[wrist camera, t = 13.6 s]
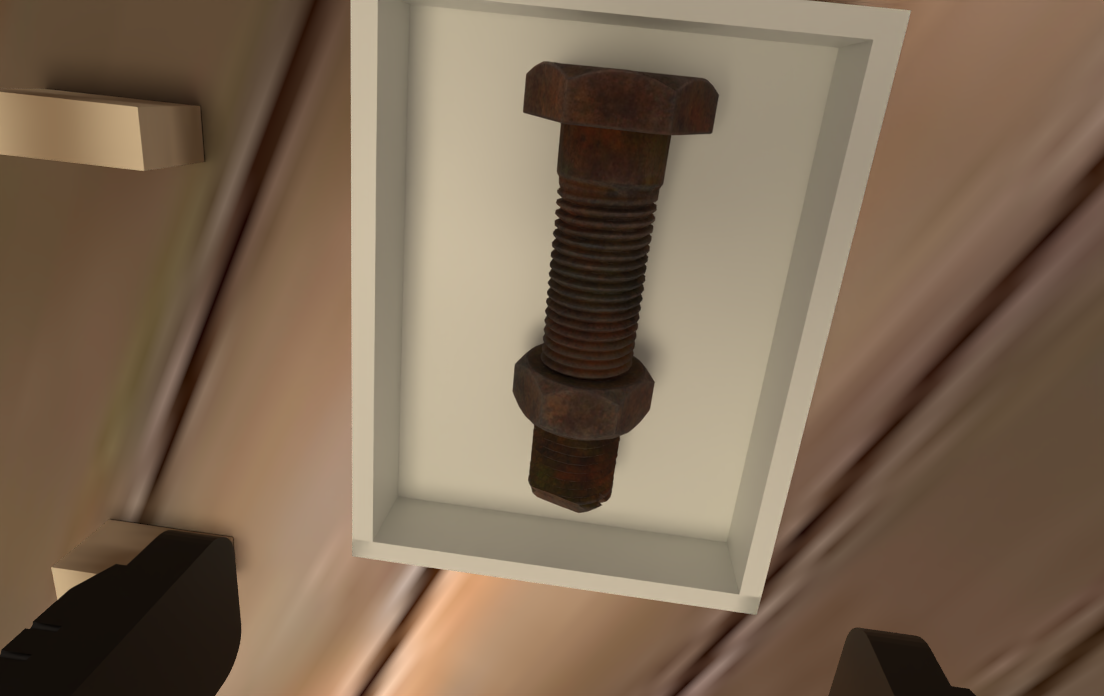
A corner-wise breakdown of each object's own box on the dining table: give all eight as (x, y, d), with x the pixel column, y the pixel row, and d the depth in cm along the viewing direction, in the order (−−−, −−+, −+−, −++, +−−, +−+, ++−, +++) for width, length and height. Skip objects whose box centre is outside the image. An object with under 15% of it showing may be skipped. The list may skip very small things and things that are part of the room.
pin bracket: (200, 106, 25) (137, 107, 22) (235, 572, 32) (192, 625, 29) (45, 89, 25) (-40, 87, 22) (114, 554, 33) (58, 605, 30)
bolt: (558, 441, 30) (602, 67, 24) (662, 487, 27) (740, 81, 21) (467, 498, 25) (495, 55, 19) (582, 561, 23) (653, 71, 17)
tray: (862, 25, 22) (911, 10, 19) (739, 549, 29) (756, 614, 26) (394, -21, 23) (350, -45, 19) (385, 499, 30) (352, 556, 27)
